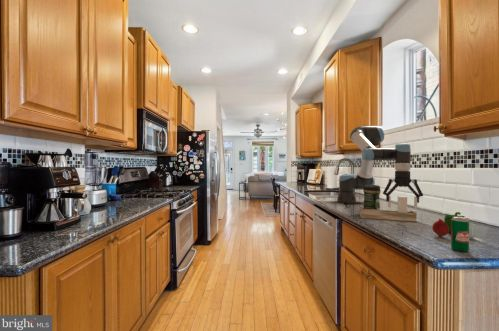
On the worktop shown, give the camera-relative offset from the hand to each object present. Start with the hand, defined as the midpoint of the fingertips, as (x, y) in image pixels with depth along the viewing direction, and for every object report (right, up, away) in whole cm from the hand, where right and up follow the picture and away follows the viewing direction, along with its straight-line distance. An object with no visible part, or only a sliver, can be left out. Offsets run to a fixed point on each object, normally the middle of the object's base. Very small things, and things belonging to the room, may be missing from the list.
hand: (402, 207), depth 143 cm
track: (-8, -6, +3) cm, 10 cm away
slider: (0, -4, 0) cm, 4 cm away
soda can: (-11, -7, -52) cm, 54 cm away
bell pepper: (+7, -7, -29) cm, 30 cm away
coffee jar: (-10, -7, +16) cm, 20 cm away
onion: (-5, -7, -35) cm, 36 cm away
